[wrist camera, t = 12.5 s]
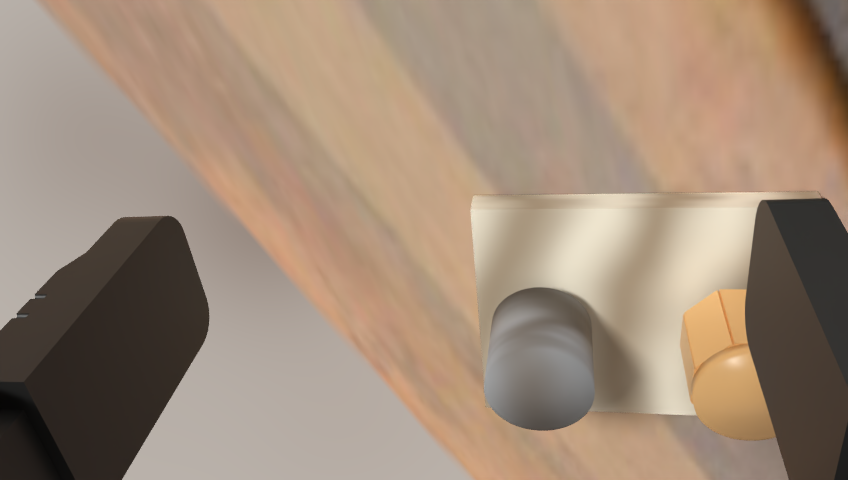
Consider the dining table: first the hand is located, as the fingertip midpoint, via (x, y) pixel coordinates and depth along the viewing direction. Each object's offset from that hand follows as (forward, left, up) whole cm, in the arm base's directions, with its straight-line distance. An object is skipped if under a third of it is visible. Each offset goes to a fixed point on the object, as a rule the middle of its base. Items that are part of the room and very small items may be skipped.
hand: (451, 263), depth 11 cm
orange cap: (-10, +21, -24) cm, 34 cm away
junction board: (-5, +21, -27) cm, 34 cm away
